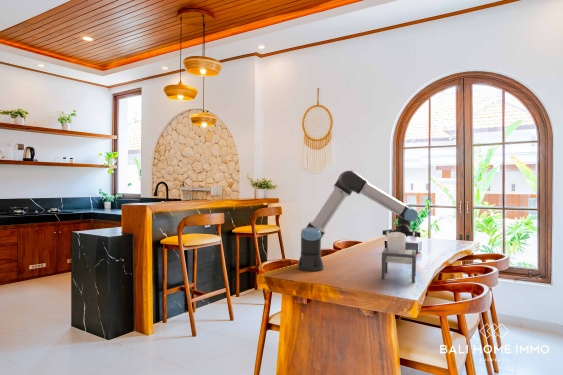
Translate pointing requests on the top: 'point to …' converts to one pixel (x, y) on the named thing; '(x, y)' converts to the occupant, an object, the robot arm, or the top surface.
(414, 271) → the stand
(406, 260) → the trapdoor
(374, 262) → the top surface
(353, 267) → the top surface
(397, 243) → the candle holder
